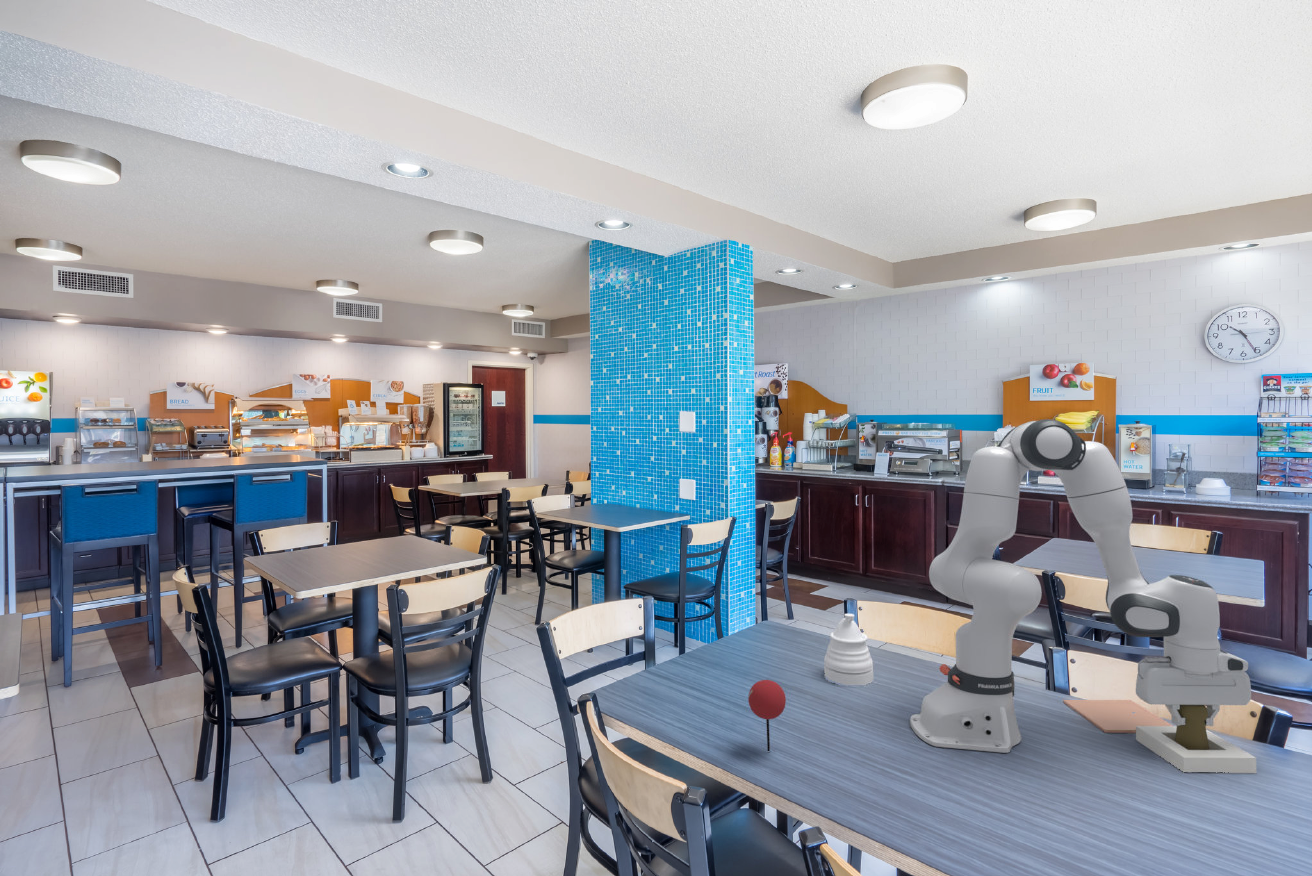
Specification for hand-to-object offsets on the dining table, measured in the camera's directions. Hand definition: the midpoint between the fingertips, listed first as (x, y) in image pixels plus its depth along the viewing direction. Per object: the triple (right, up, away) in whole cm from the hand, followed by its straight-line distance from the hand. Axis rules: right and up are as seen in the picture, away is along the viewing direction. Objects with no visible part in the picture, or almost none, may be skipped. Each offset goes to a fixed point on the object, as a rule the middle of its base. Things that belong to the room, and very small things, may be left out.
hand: (1192, 724), depth 130 cm
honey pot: (-56, -8, +45) cm, 73 cm away
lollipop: (-86, -9, +6) cm, 86 cm away
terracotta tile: (-2, -6, +18) cm, 20 cm away
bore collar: (0, -6, 0) cm, 6 cm away
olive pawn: (0, -7, 0) cm, 7 cm away
